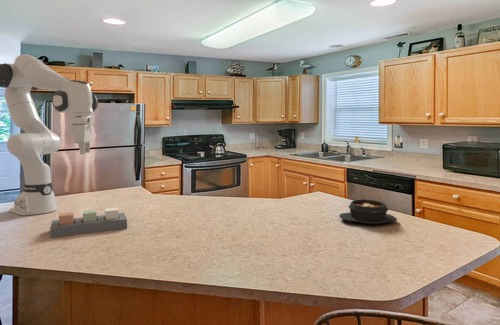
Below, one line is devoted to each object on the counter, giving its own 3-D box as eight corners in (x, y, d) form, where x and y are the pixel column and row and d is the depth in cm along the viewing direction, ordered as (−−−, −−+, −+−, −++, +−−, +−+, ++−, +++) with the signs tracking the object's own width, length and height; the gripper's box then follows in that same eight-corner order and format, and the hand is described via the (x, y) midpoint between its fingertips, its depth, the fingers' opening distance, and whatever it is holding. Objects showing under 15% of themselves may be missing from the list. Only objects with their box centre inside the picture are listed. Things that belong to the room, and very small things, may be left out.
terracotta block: (59, 228, 138) (58, 216, 137) (60, 225, 142) (59, 213, 141) (73, 226, 140) (73, 214, 139) (74, 223, 144) (73, 211, 144)
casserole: (345, 227, 148) (345, 208, 147) (334, 215, 166) (335, 198, 165) (404, 227, 148) (405, 208, 147) (387, 215, 166) (388, 198, 165)
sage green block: (83, 225, 141) (82, 213, 141) (83, 222, 146) (82, 210, 145) (96, 224, 143) (96, 212, 143) (96, 221, 148) (95, 209, 147)
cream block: (106, 223, 145) (105, 211, 144) (105, 220, 149) (104, 208, 149) (118, 221, 147) (118, 210, 146) (117, 218, 151) (117, 207, 151)
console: (50, 238, 134) (50, 228, 133) (52, 229, 144) (52, 220, 143) (127, 228, 146) (126, 219, 145) (124, 221, 156) (124, 212, 155)
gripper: (79, 120, 153) (82, 152, 154) (68, 119, 133) (71, 155, 134) (94, 120, 154) (97, 151, 156) (85, 119, 135) (88, 154, 136)
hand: (85, 153), depth 145 cm, fingers open, 8 cm apart
